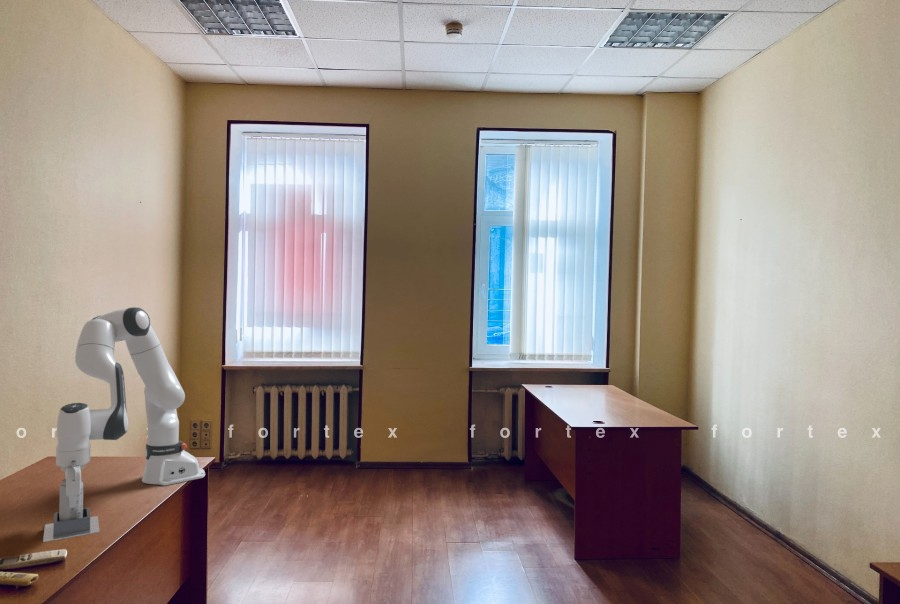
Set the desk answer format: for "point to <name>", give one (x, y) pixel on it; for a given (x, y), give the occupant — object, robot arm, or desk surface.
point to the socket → (71, 527)
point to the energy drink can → (64, 508)
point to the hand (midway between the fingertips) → (72, 502)
